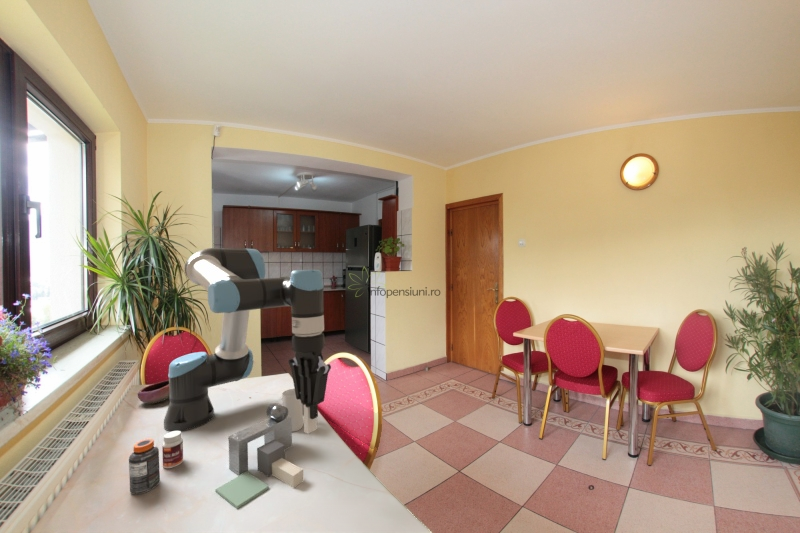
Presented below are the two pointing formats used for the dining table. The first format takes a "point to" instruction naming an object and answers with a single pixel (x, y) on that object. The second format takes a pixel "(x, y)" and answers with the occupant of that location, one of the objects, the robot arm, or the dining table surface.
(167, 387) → the bowl
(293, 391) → the mug
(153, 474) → the pill bottle
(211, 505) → the dining table surface
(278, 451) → the plug
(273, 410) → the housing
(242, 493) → the mat
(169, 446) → the pill bottle
